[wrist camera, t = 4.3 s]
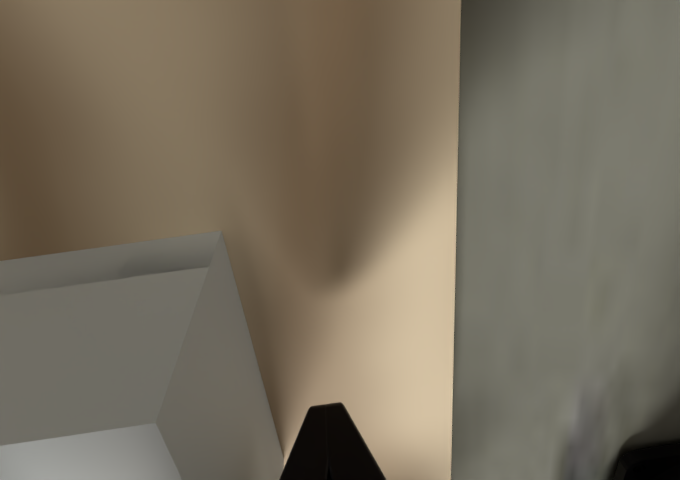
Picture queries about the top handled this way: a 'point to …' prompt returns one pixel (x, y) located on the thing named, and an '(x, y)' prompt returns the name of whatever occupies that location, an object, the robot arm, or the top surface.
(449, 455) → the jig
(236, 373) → the block
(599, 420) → the top surface
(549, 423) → the top surface
